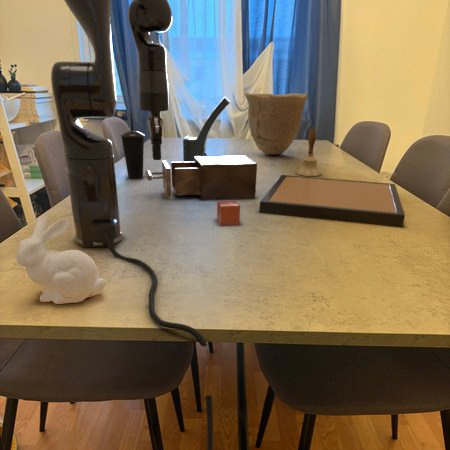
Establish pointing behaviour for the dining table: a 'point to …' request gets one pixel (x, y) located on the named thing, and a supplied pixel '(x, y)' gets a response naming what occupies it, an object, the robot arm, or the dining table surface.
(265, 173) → the dining table surface
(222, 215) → the block
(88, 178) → the robot arm
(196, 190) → the drawer
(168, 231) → the dining table surface
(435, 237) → the dining table surface
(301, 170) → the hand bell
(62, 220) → the rabbit
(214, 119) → the dark grey curved piece
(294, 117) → the clay pot
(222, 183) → the cabinet
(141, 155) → the drinking cup
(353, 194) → the cork board
